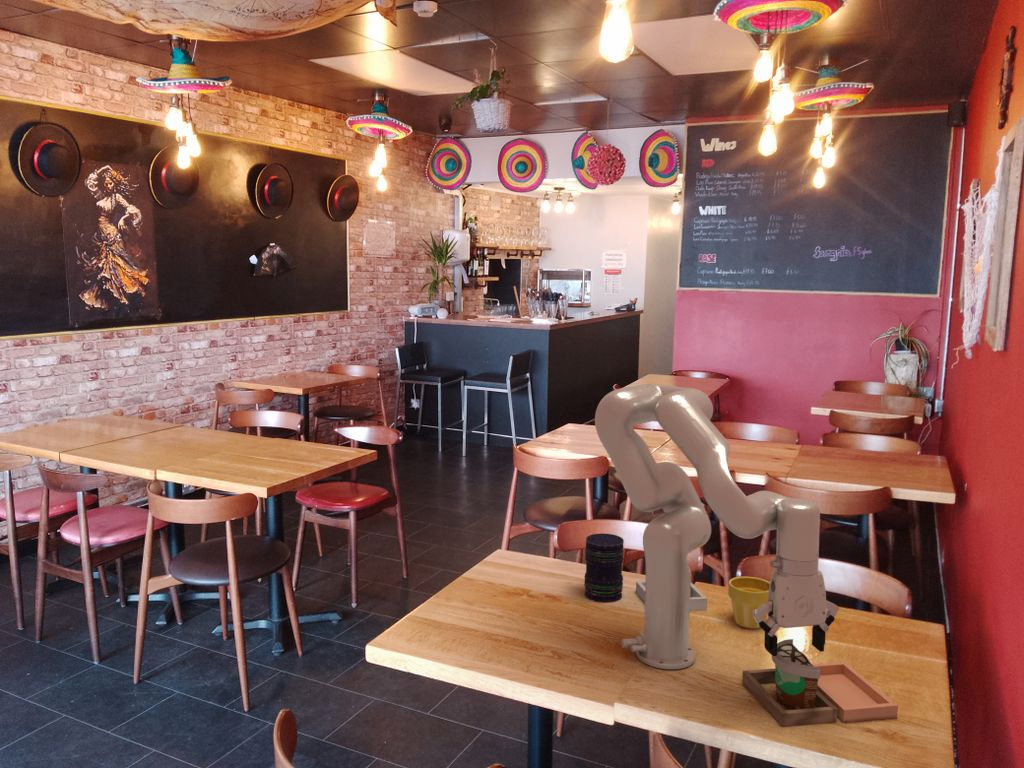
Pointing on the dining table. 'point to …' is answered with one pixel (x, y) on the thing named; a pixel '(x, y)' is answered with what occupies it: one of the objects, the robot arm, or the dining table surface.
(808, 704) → the food container
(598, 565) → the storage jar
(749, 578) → the plant pot
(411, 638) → the dining table surface
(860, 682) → the terracotta tray
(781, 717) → the walnut stand frame
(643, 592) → the grey parts rim
